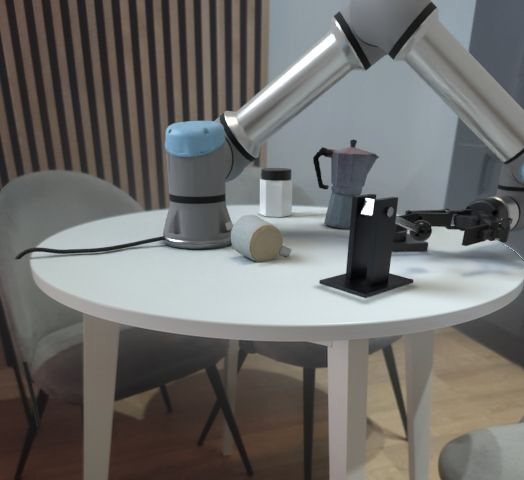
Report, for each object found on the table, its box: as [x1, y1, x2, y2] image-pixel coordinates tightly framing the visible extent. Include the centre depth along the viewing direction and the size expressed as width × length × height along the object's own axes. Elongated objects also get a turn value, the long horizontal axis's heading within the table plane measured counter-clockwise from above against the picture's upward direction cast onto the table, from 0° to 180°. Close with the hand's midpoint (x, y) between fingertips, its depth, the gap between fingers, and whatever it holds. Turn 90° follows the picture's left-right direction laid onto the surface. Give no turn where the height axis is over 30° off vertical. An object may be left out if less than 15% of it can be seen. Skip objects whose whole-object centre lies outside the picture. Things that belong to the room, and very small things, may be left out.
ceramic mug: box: [231, 214, 292, 263], centre depth 92 cm, size 11×8×8 cm
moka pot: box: [312, 139, 380, 230], centre depth 120 cm, size 10×15×20 cm, turn 89°
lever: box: [361, 198, 433, 242], centre depth 78 cm, size 17×4×4 cm, turn 130°
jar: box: [259, 167, 294, 218], centre depth 136 cm, size 9×8×12 cm
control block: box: [392, 230, 429, 253], centre depth 101 cm, size 12×10×4 cm
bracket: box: [318, 193, 414, 299], centre depth 76 cm, size 12×9×14 cm
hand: (428, 230), depth 85 cm, fingers open, 13 cm apart
